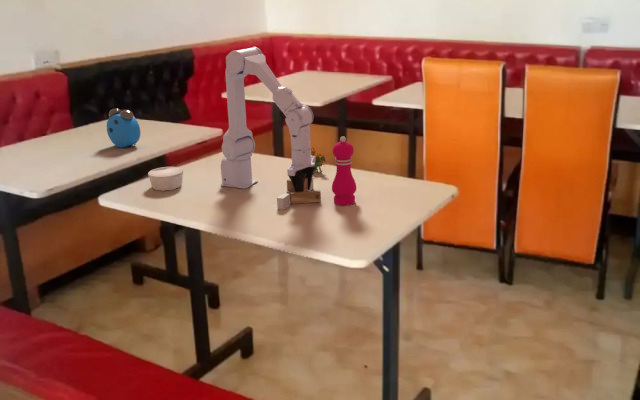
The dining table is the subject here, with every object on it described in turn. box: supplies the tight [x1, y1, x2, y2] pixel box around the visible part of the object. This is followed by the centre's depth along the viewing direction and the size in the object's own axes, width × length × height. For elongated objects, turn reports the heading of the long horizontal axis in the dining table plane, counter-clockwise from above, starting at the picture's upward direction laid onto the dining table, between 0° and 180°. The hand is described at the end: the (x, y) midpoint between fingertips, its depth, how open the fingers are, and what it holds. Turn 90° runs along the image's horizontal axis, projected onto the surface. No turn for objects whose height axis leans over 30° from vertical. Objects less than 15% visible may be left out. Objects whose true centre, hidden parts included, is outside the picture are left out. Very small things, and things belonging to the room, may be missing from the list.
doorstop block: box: [286, 177, 308, 200], centre depth 203 cm, size 5×4×6 cm
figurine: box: [311, 146, 327, 173], centre depth 228 cm, size 3×12×8 cm, turn 42°
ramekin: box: [147, 166, 184, 192], centre depth 218 cm, size 11×11×5 cm
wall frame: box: [276, 177, 314, 211], centre depth 203 cm, size 2×20×4 cm, turn 155°
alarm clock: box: [106, 108, 141, 149], centre depth 265 cm, size 13×6×15 cm, turn 57°
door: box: [290, 190, 322, 205], centre depth 199 cm, size 2×9×3 cm, turn 95°
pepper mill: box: [331, 136, 357, 206], centre depth 196 cm, size 7×7×20 cm
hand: (302, 191), depth 203 cm, fingers closed on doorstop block, 4 cm apart
